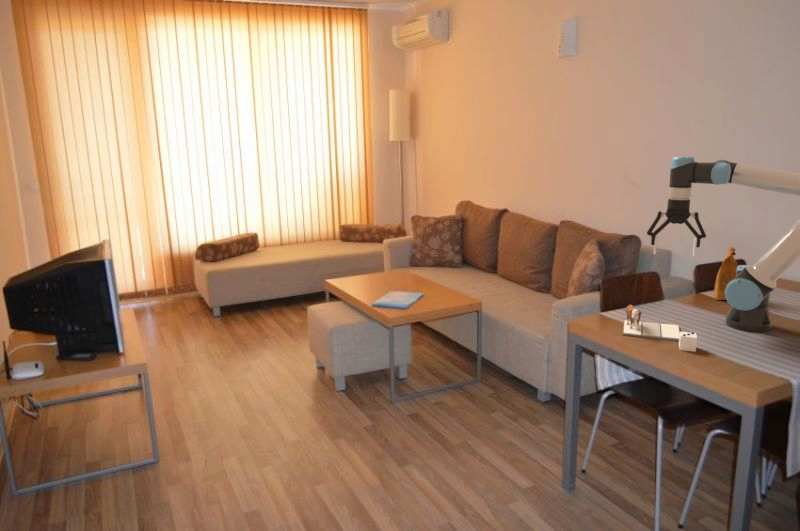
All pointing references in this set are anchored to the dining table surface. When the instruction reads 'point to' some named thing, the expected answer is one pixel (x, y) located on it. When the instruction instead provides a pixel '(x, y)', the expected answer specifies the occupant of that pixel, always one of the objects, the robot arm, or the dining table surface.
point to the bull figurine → (633, 316)
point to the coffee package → (725, 275)
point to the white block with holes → (687, 341)
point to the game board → (652, 330)
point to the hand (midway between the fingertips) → (674, 254)
